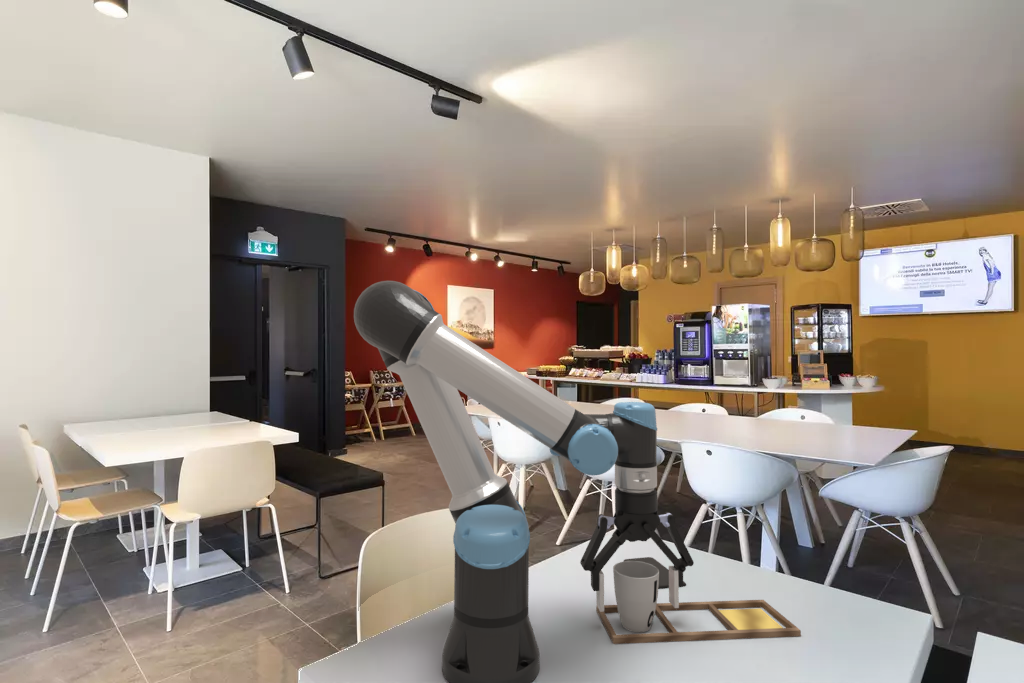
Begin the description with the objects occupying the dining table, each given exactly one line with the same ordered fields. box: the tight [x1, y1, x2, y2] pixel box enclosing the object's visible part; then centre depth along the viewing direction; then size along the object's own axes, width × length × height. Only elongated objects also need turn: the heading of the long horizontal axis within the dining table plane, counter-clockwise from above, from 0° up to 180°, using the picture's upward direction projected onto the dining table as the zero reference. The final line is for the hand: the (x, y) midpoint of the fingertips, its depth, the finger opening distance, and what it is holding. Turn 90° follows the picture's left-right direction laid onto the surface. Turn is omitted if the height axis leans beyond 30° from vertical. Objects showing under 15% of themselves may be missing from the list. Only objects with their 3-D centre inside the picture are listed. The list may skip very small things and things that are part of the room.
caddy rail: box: [595, 599, 802, 645], centre depth 100 cm, size 33×12×1 cm, turn 95°
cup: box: [612, 560, 659, 633], centre depth 99 cm, size 8×8×10 cm
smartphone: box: [622, 556, 687, 590], centre depth 123 cm, size 8×1×16 cm
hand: (637, 606), depth 99 cm, fingers open, 13 cm apart
